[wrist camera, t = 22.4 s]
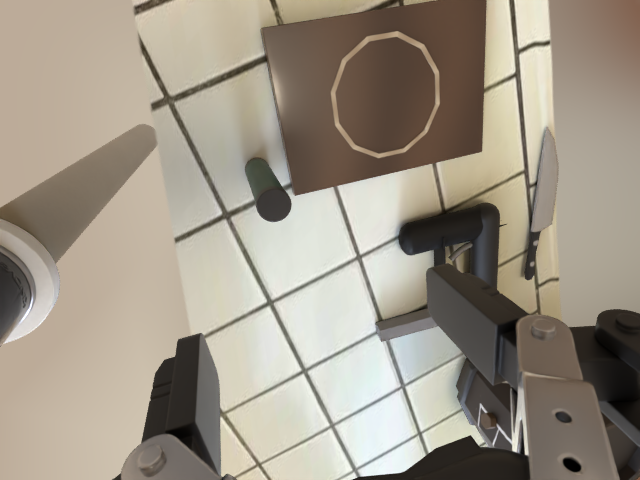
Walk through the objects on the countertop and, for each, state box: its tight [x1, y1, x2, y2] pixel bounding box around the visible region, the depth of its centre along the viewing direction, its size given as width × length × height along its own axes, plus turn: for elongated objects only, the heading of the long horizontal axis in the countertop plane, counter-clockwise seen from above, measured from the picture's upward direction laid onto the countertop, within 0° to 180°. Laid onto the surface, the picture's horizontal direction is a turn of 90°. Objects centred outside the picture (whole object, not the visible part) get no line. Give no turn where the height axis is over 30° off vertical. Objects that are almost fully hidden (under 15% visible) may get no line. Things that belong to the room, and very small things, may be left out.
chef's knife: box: [525, 127, 558, 280], centre depth 44 cm, size 19×1×3 cm
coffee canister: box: [456, 358, 640, 480], centre depth 47 cm, size 18×18×16 cm
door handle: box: [376, 203, 506, 342], centre depth 44 cm, size 3×20×16 cm
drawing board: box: [261, 0, 486, 196], centre depth 34 cm, size 20×14×1 cm
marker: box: [245, 158, 291, 222], centre depth 30 cm, size 2×2×11 cm
